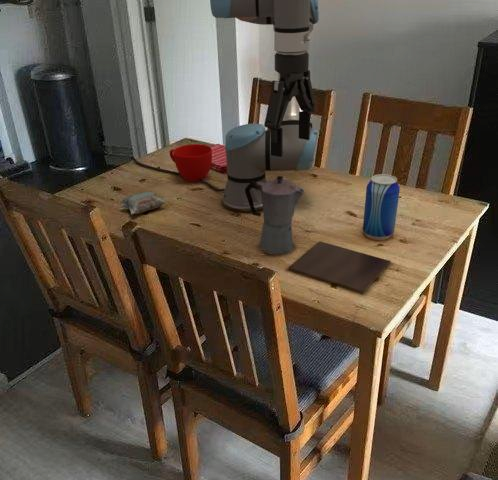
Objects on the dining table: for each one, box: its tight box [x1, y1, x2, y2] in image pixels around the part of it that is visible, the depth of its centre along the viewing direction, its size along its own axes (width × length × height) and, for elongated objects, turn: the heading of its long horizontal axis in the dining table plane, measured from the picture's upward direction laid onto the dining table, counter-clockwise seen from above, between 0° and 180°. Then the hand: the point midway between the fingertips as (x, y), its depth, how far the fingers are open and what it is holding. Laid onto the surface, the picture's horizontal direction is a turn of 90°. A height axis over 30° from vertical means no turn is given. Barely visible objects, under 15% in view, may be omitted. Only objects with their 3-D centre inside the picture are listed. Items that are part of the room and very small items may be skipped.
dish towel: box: [209, 143, 227, 174], centre depth 200 cm, size 17×24×3 cm
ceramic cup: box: [169, 143, 212, 183], centre depth 185 cm, size 13×17×10 cm
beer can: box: [362, 173, 401, 241], centre depth 143 cm, size 8×8×16 cm
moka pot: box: [245, 175, 306, 256], centre depth 138 cm, size 10×15×20 cm, turn 78°
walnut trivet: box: [287, 241, 391, 295], centre depth 134 cm, size 20×16×1 cm
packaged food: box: [119, 190, 168, 216], centre depth 165 cm, size 9×12×5 cm
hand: (290, 147), depth 130 cm, fingers open, 13 cm apart
